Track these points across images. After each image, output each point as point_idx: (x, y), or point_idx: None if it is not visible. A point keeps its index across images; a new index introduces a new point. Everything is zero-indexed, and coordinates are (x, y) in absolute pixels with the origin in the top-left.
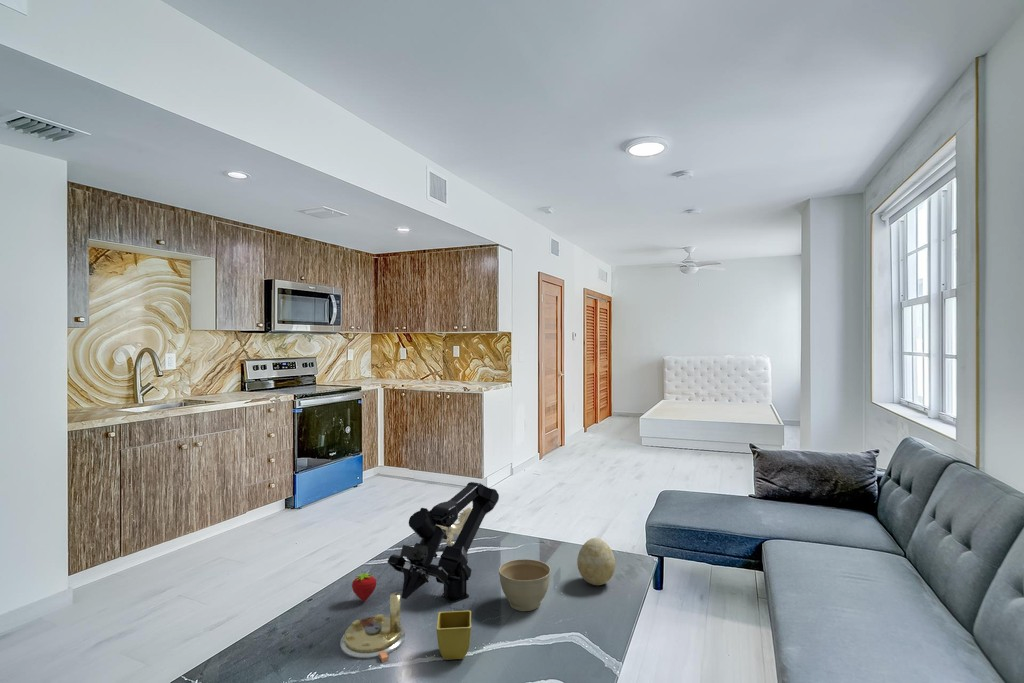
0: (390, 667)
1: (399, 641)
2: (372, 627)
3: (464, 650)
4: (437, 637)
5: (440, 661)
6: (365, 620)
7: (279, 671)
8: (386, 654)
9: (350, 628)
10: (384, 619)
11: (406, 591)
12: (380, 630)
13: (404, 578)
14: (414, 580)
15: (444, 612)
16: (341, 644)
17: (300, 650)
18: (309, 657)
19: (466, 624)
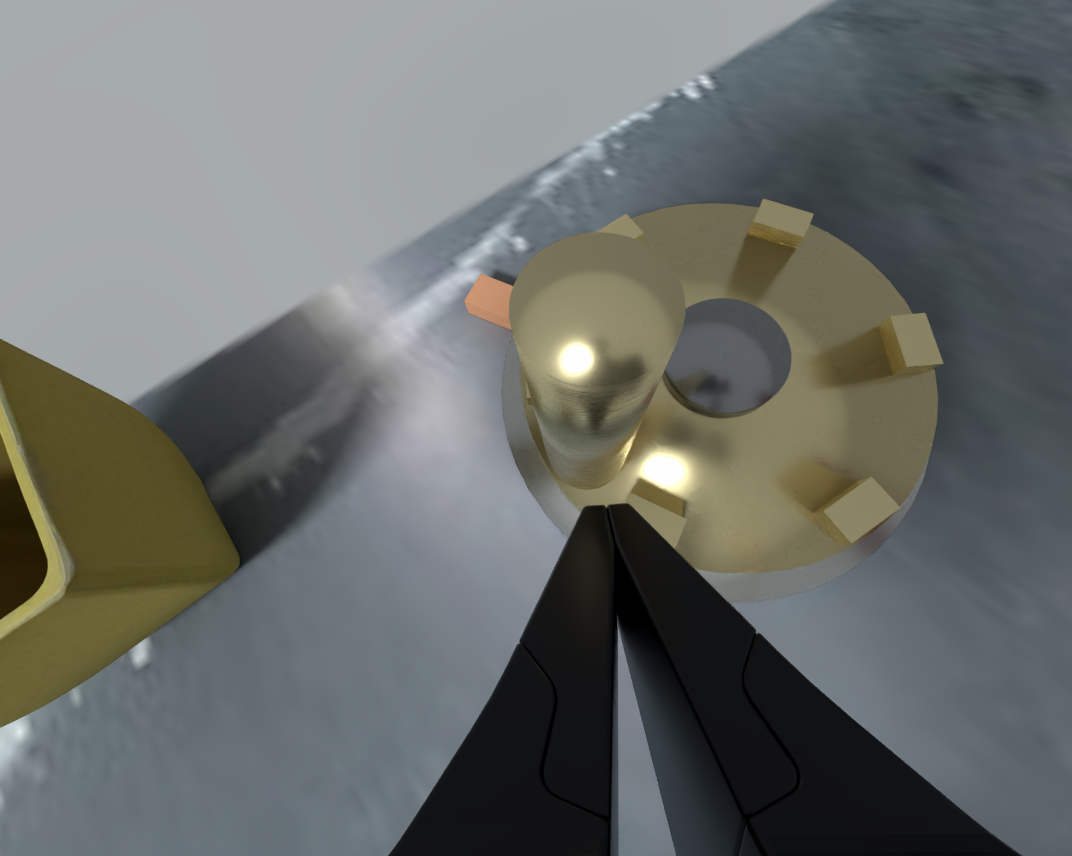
0: (421, 285)
1: (521, 439)
2: (725, 345)
3: (8, 515)
4: (62, 370)
5: (216, 456)
6: (901, 423)
7: (827, 21)
8: (487, 307)
9: (877, 297)
10: (792, 518)
11: (578, 557)
12: (663, 377)
13: (888, 770)
14: (429, 802)
15: (5, 616)
16: None
17: (931, 127)
18: (829, 125)
19: None
